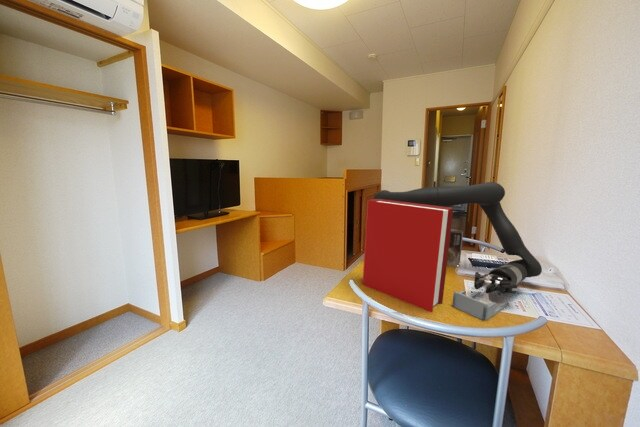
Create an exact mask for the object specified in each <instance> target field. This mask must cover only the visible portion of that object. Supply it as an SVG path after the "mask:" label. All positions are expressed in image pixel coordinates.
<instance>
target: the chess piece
mask: <svg viewBox="0 0 640 427" xmlns="http://www.w3.org/2000/svg"><path fill="white" fill-rule="evenodd" d="M486 279H487V280H485V286H484V287H482V288H483V289H484V292H483V295H482V297H481V298H477V299H476V300H478V301H481V302H483V303H486V304H488V305H489V304H490V303H492V302H493V301H491V300H490V298H489V294H488V293H486V287H487V286H489V285H490V284H491V283H492V282H491V281H490V280H489V279H491V277H490V275H488V277H486Z"/></svg>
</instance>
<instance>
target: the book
mask: <svg viewBox="0 0 640 427" xmlns="http://www.w3.org/2000/svg"><path fill="white" fill-rule="evenodd" d="M366 204H367V205H366V218H365V219H366V220H365V237H364V238H365V239H364V252H363V253H364V254H363V255H364V256H363V267H362V268H363V272H362V285H363V286H364V287H367V288H369V289H372V290H375V291H377V292H380V293H382V294H384V295H387V296H389V297H391V298H392V297H393V298H394V299H398V300H400V301H402V302H405V303H408V304H410V305H413V306H414V307H415V306H416V308H417V307H418V308H420V309H423V310H425V311H428V312H430V313H433V311H434V306H436V305H437V304H443V301H444V292H445V283H446V277H447V276H446V274H447V266H448V265H447V259H448V250H449V242H450V233H451V229H452V224H453V223H452V222H453V214H454V207H451V206H450V207H442V206H434V205H426V204H417V203H409V202H401V201H393V200H385V199H373V198H371V199H367V203H366Z"/></svg>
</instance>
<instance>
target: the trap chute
mask: <svg viewBox="0 0 640 427" xmlns="http://www.w3.org/2000/svg"><path fill="white" fill-rule="evenodd" d="M481 294H482V293H481V291H475V293H472V294H470V295H466V290H462V291H456V290H455V291H453V296H452V297H453V298H452V304H451V306H452V307H453V308H455V309H458V310H460V311H462V312H464V313H466V314H468V315H471V316H473V317H475V318H477V319H479V320H481V321H484V322H485V321H488V320H489V319H491V318H492V317H494V316H495V315H497V314H498V313H500V312H502V311H503V310H505V309H507V308H508V307H510V306H509V305H511V303H510V302H505V303H503V304H502V305H500V306H499V307H497V308H496V305H497V303H496V302H495V301H491V302H492V303H490V304H489V305H488V304H486V303H483V302H481V301H478V300H477V299H476V297H478V296H479V295H481ZM507 306H508V307H507ZM506 307H507V308H506ZM504 308H505V309H504ZM501 310H502V311H501Z"/></svg>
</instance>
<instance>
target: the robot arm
mask: <svg viewBox="0 0 640 427" xmlns="http://www.w3.org/2000/svg"><path fill="white" fill-rule="evenodd" d="M505 194H506V190H505V188H504V187H503V186H502V185H501V184H500V183H498V182H493V181H488V182H482V183H477V184H471V185H450V186H448V185H447V186H446V185H444V186H429V187H427V186H426V187H422V188H416V189H412V190H408V191H407V190H406V191H390V190H385V189H382V190H379V191H378V192H377V193H375V195H374V196H373V198H372V199H385V200H393V201H401V202H409V203H417V204H426V205H434V206H442V207H450V208H451V207H454V206H459V205H464V204H465V205H468V204H478V205H479V207H480V208H481V209H482V211H483V212H484V213H485V215H486V217H487V218H488V220H489V222H490V224H491V225H492V227H493V230H494V231H495V233H496V236H497V238H498V240H499V243H500V244H501V246H502V248H503V251H504V253H505V254H506V255H507V256H518V257H520V258H521V259H515V260H511V261H509V262H507V264H505V265H501V266H499V267H496V268H493V269H492V270H490V272H489V273H485V274H481V273H480V272H479V271H475V273H474V281H473V282H474V283H473V287H474V289H475V290H479V289H481V288H483V287H484V286H485V280H487V279H486V277H488V275H490V277H491V279H489V280H490V281H491V282H492V283H491V284H490V285H489V286H487V287H486V293H488V295H489V294H493V293H497V292H499V294H502V295H506V294H508V295H509V294H517V293H518V289H519V285H518V284H519V283H521V282H523V281H524V280H525V279H526V278H533V277H538V276H540V275H541V274H542V270H543V269H542V265H541V263H540V262H539V260H538V259H537V258H536V257H535V256H534V255H533V254H532V253H531V252H530V251H529V249H528V248H527V247H526V245H525V244H524V241H523V238H522V237H521V235H520V233H519V231H518V230H517V228H516V227H515V225H514V224H513V223H512V222H511V220H510V219H509V218H508V216H507V215H506V213H505V212H504V209H503V207H502V203H501V201H502V200H504V197H505Z"/></svg>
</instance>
